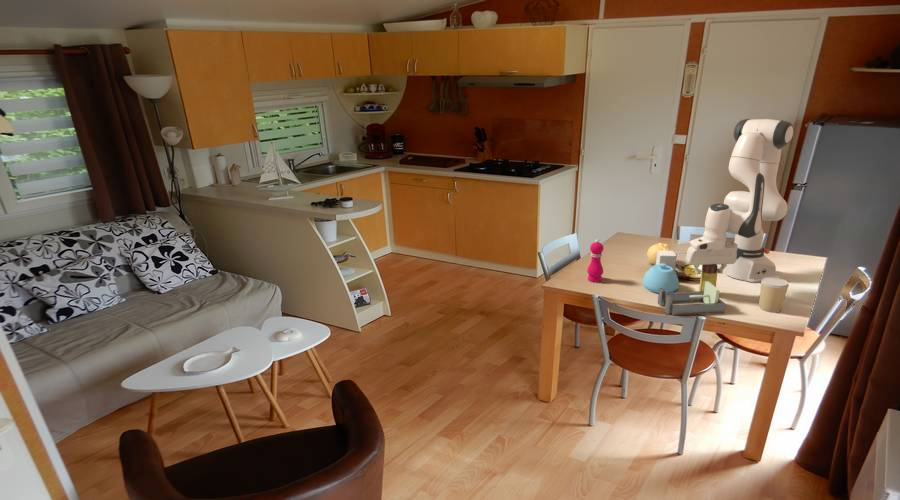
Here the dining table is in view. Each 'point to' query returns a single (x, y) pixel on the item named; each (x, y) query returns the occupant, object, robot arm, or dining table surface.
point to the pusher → (708, 293)
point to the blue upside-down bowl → (661, 279)
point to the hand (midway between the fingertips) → (708, 273)
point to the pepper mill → (595, 262)
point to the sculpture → (653, 252)
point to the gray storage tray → (688, 308)
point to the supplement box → (666, 258)
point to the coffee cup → (772, 294)
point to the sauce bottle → (708, 275)
